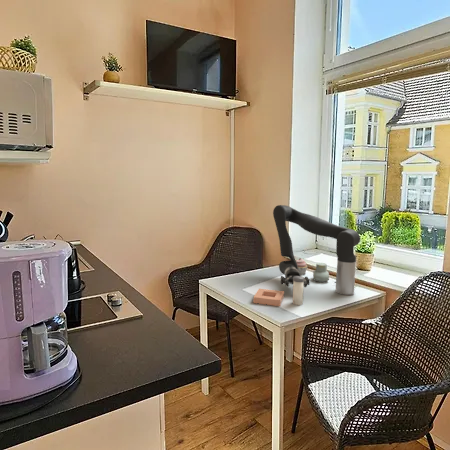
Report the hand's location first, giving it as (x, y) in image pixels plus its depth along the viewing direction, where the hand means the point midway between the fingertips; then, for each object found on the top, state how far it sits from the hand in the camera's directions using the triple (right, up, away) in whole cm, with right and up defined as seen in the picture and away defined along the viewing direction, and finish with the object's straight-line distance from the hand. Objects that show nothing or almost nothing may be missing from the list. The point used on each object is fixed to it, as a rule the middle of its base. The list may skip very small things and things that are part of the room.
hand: (296, 285), depth 181 cm
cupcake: (+11, 0, +46) cm, 47 cm away
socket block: (-14, -8, +1) cm, 16 cm away
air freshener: (+20, -3, +33) cm, 39 cm away
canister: (0, -8, -3) cm, 9 cm away
